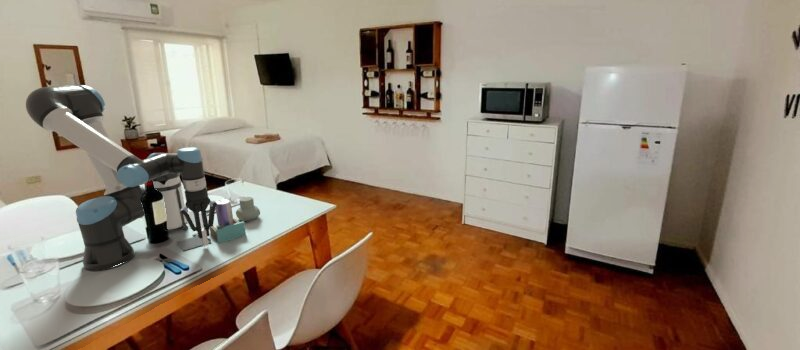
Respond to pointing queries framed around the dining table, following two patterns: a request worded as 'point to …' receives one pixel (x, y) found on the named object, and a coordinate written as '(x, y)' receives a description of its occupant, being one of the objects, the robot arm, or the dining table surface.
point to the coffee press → (172, 199)
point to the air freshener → (247, 209)
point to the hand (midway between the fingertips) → (205, 244)
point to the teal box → (230, 231)
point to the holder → (213, 229)
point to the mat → (191, 243)
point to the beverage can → (224, 212)
